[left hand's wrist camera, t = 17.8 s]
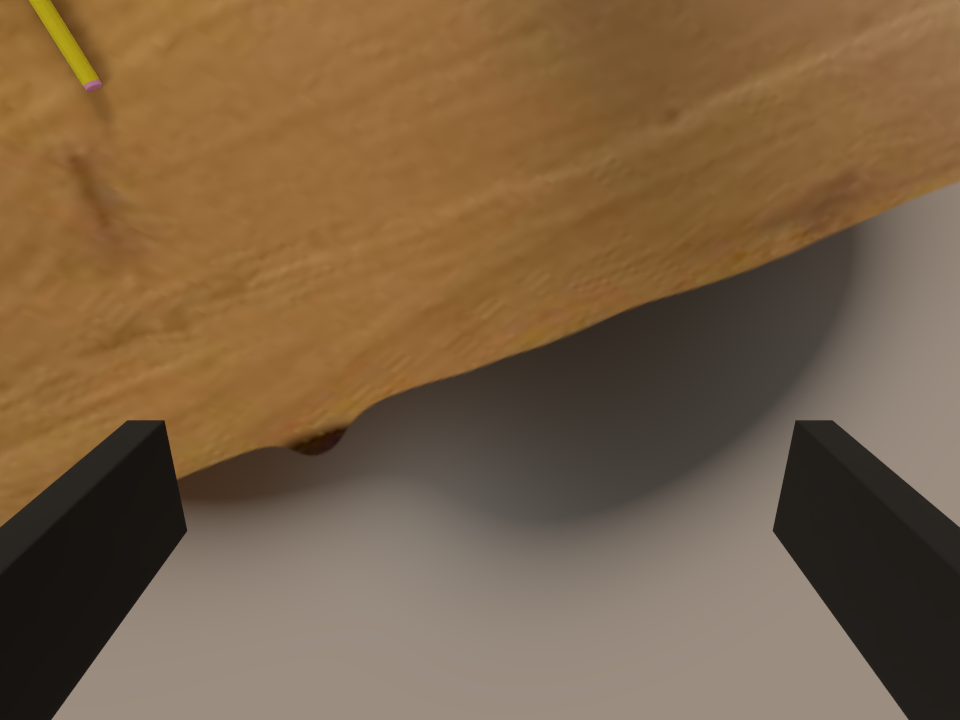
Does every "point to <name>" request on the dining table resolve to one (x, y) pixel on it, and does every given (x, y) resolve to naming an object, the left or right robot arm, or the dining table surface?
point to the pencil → (67, 44)
